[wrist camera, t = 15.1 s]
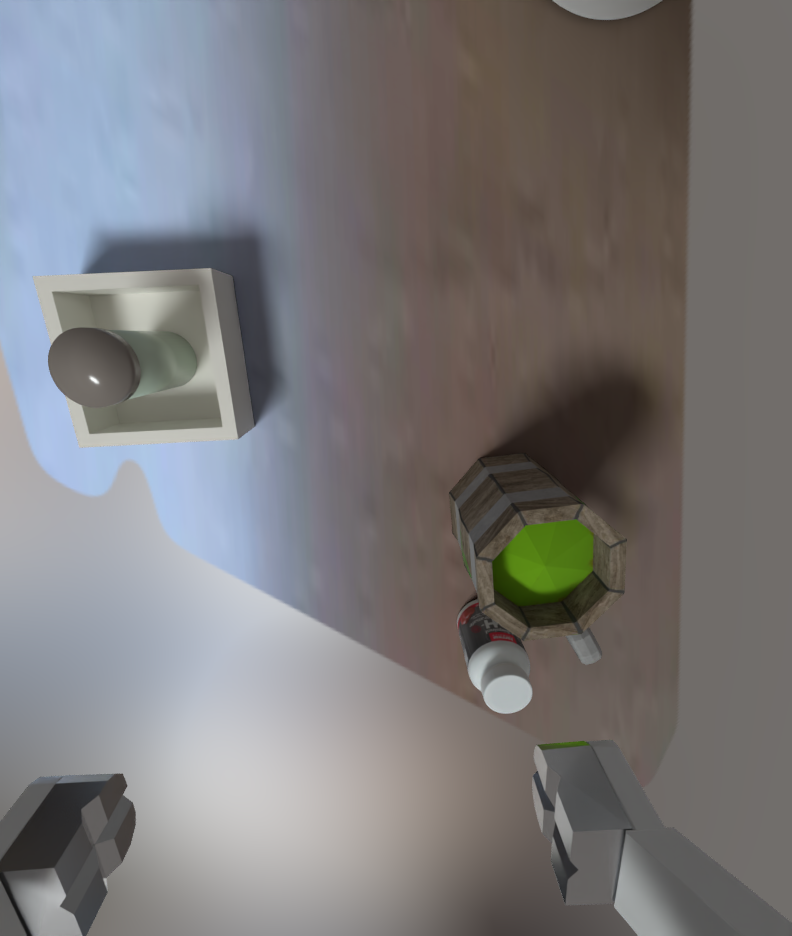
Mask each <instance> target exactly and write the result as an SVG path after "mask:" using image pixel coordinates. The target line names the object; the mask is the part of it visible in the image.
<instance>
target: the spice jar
mask: <svg viewBox="0 0 792 936" xmlns="http://www.w3.org/2000/svg"><path fill="white" fill-rule="evenodd" d="M48 366H49V370H50V374H51V376H52V379H53V381H54V382H55V384H56V386H57V387H58V388H59V389H60V391H61V392H62V393H63V394H64V395H65V396H67V397H68V398H69V399H71V400H72V401H74V402H76V403H78V404H80V405H83V406H86V407H91V408H102V407H107V406H111V405H115V404H119V403H122V402H124V401H126V400H128V399H132V398H136V397H140V396H144V395H148V394H152V393H156V392H160V391H164V390H168V389H172V388H176V387H180V386H183V385H185V384H187V383H188V382H189V381H190V380H191V379H192V378H193V376H194V374H195V372H196V368H197V358H196V354H195V352H194V350H193V348H192V346H191V345H190V344H189V342H188V341H187V340H186V339H184V338H183V337H182V336H180V335H178V334H176V333H173V332H167V331H130V330H106V329H102V328H84V327H79V328H73V329H69V330H67V331H65V332H63V333H61V334H60V335H59V336H58V337H57V338H56V339H55V340H54V341H53V343H52V345H51V347H50V350H49V355H48Z"/></svg>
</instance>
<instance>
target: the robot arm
mask: <svg viewBox="0 0 792 936" xmlns="http://www.w3.org/2000/svg"><path fill="white" fill-rule="evenodd" d="M553 1H554V2H555V3H557V4H558V5H559V6H561V7H563V8H564V9H566V10H568V11H570V12H572V13H574V14H577V15H579V16H583V17H586V18H591V19H598V20H614V19H621V18H626V17H630V16H633V15H636V14H639V13H641V12H643V11H645V10H648V9H649V8H651V7H653V6H655V5H656V4H658V3H659V2H661V1H662V0H553ZM534 761H535V764H536V767H537V770H538V771H537V772H536V773H535V774H534V775H533V782H532V791H533V798H534V806H535V809H536V814H537V818H538V821H539V825H540V828H541V831H542V834H543V835H544V836H545V837H546V838H547V839H548V840H549V841H550V842H551V843H552V853H551V863H552V866H553V869H554V872H555V875H556V878H557V881H558V884H559V887H560V890H561V893H562V896H563V900H564V902H565V905H589V904H614V907H615V908H616V910H617V911H618V912H619V913H620V914H621V915H622V917H623V918H624V919H625V920H626V922H627V923H628V924H629V925H630V926H631V927H632V929H633V930H634V931H635V932H636V933H637V935H638V936H792V922H790V921H789V920H788V919H786V918H785V917H784V916H783V915H781V914H780V913H779V912H778V911H777V910H775V909H774V908H773V907H772V906H770V905H769V904H768V903H767V902H766V901H764V900H763V899H762V898H760V897H759V896H758V895H757V894H756V893H754V892H753V891H751V889H749V888H748V887H747V886H746V885H744V884H743V883H742V882H741V881H739V880H738V879H737V878H736V877H734V876H733V875H732V874H731V873H729V872H728V871H727V870H726V869H724V868H723V867H722V866H721V865H720V864H718V863H717V862H716V861H715V860H713V859H712V858H711V857H710V856H708V855H707V854H706V853H705V852H703V851H702V850H701V849H700V848H699V847H697V846H696V845H695V844H694V843H692V842H691V841H690V840H689V839H687V838H686V837H685V836H683V835H682V834H681V833H680V832H678V831H677V830H676V829H675V828H665V826H664V825H663V823H662V821H661V819H660V818H659V816H658V814H657V812H656V811H655V809H654V807H653V806H652V804H651V802H650V800H649V799H648V797H647V795H646V794H645V792H644V790H643V788H642V786H641V785H640V783H639V781H638V780H637V778H636V776H635V774H634V773H633V771H632V769H631V767H630V766H629V764H628V762H627V760H626V759H625V757H624V755H623V754H622V752H621V750H620V748H619V747H618V745H617V744H616V743H615V742H614V741H613V740H601V741H587V742H585V741H578V742H566V743H554V744H542V745H537V746H536V747H535V749H534ZM126 787H127V784H126V781H125V778H124V776H123V774H97V775H69V776H51V777H39V778H38V779H36V780H35V781H34V782H32V783H31V784H30V785H29V786H28V787H27V788H26V789H25V791H24V792H23V793H22V794H21V796H20V797H19V798H18V800H17V801H16V802H15V803H14V805H13V806H12V807H11V808H10V810H9V811H8V812H7V814H6V815H5V816H4V818H3V819H2V820H1V821H0V936H86V935H87V933H88V931H89V929H90V927H91V925H92V923H93V921H94V919H95V917H96V915H97V913H98V911H99V909H100V907H101V905H102V903H103V901H104V899H105V897H106V895H107V892H108V890H107V877H108V876H109V874H111V873H112V872H113V871H114V870H115V869H116V868H117V867H118V866H119V865H120V864H121V863H122V862H123V859H124V857H125V855H126V853H127V851H128V849H129V847H130V845H131V841H132V837H133V833H134V829H135V825H136V824H135V821H136V818H135V816H136V814H135V809H134V805H133V803H132V802H131V801H130V800H129V799H127V798H126V797H125V796H123V793H124V791H125V789H126Z"/></svg>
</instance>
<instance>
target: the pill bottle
mask: <svg viewBox="0 0 792 936" xmlns="http://www.w3.org/2000/svg"><path fill="white" fill-rule="evenodd" d="M457 627H458V632H459V636H460V640H461V644H462V648H463V652H464V656H465V660H466V665H467V669H468V673H469V676H470V679H471V681H472V683H473V684H474V685H475V686H476V687H477V688H478V689H479V690H480V691H482V694H483V697H484V700H485V703H486V704H487V706H488V707H489V708H491V709H492V710H494V711H496V712H498V713H504V714H507V713H514V712H517V711H519V710H521V709H523V708H524V707H525V706H526V705H527V704H528V703H529V702H530V700H531V698H532V686H531V683H530V681H529V674H530V661H529V658H528V655H527V653H526V651H525V648H524V646H523V644H522V642H521V639H520V638H518V637H517V636H515V635H514V634H513V633H511V632H510V631H508V630H507V629H505V628H504V627H502V626H501V625H500V624H498V623H497V622H495V621H494V620H492V619H491V618H489V617H488V616H487V615H485V614H484V613H482V612H481V611H480V609H479V603H478V599H476V600H474V601H471V602H470V603H468V604H467V605H465V607H463V609H462V610H461V611H460V613H459V615H458V618H457Z"/></svg>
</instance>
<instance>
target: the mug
mask: <svg viewBox="0 0 792 936" xmlns="http://www.w3.org/2000/svg"><path fill="white" fill-rule="evenodd" d="M449 497H450V509H451V520H452V532H453V535H454V536H455V538H456V539H457V540H458V542H459V545H460V548H461V550H462V555H463V561H464V566H465V568H466V569H467V571H468V573H469V575H470V577H471V578H472V581H473V583H474V586H475V589H476V592H477V596H478V603H479V609H480V611H481V612H482V613H484V614H485V615H487V616H488V617H489V618H491V619H492V620H494V621H495V622H497V623H498V624H500V625H501V626H502V627H504V628H505V629H507V630H508V631H510V632H511V633H513V634H514V635H515V636H517V637H518V638H520V639H521V640H523V641H527V640H535V639H544V638H552V637H561V636H566V638H567V639H568V641H569V643H570V644H571V646H572V648H573V649H574V651H575V653H576V654H577V656H578V658H579V659H580V661H581V662H582V663H584V664H586V665H587V664H591V663H595V662H596V661H598V660H599V659H600V658H601V656H602V651H601V649H600V646H599V644H598V643H597V641H596V639H595V637H594V635H593V634H592V632H591V630H590V628H589V626H590V625H592V624H593V623H594V622H595V621H596V620H597V619H598V618H599V617H600V616H601V615H602V614H603V613H604V612H605V611H606V610H607V609H608V608H610V607H611V606H612V605H613V604H614V603H615V602H616V601H617V600H618V599H619V598H620V597H621V596H622V595H623V594H624V589H625V568H626V546H627V539H626V538H624V537H623V536H622V535H621V534H620V533H618V532H617V531H616V530H615V529H613V528H612V527H611V526H610V525H608V524H607V523H606V522H605V521H604V520H602V519H601V518H600V517H599V516H597V515H596V514H595V513H594V512H592V511H591V510H590V509H589V508H588V507H587V506H586V504H584V503H583V502H582V501H581V500H579V499H578V498H577V497H576V496H574V495H573V494H572V493H571V492H570V491H568V490H567V489H566V488H565V487H563V486H562V485H561V484H560V483H559V481H558V480H557V479H556V478H555V477H553V476H552V475H551V474H550V473H549V472H547V471H546V470H545V469H544V468H542V467H541V466H540V465H539V464H538V463H536V462H535V461H534V460H533V459H531V458H530V457H529V456H528V455H526V454H525V453H520V454H512V455H504V456H495V457H487V458H479V459H478V460H477V461H476V462H475V463H474V465H473V466H472V467H471V468H470V469H469V470H468V472H467V473H466V474H465V475H464V476H463V477H462V478H461V480H460V481H459V482H458V483H457V484H456V485H455V486H454V488H453V489H452V490H451V491H450V492H449Z"/></svg>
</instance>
